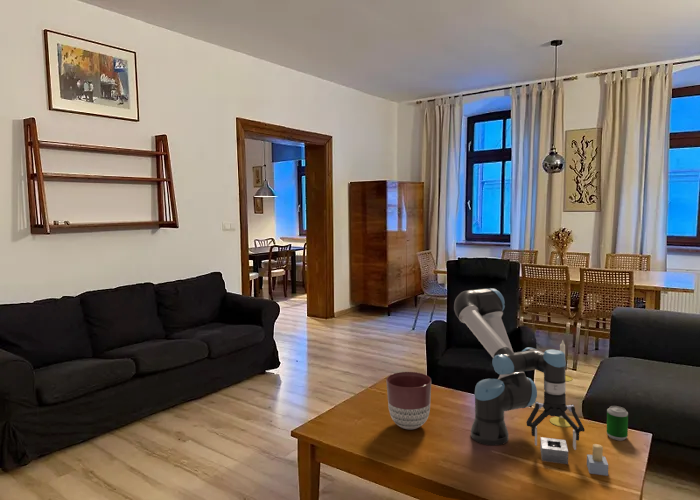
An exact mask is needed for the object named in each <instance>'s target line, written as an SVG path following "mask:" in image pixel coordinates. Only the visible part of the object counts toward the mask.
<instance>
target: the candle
mask: <svg viewBox="0 0 700 500" xmlns="http://www.w3.org/2000/svg"><path fill="white" fill-rule="evenodd" d="M559 351H562V352H563V353H564V354H565V355H566V344H565V342H564V339H562V341H561V343H560V344H559ZM573 380H574V378H573V377H572V376H570V375H568V374H565V383H567V382H572V381H573ZM549 422H550V424H551V425H554V426H557V427H559V426H560V428H572V427H571V425H570V424H569V423H568V422H567V421H566V420H565V419H564V418H563V417H562V416H560V417H557V416H551V418H549Z"/></svg>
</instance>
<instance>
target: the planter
mask: <svg viewBox="0 0 700 500" xmlns="http://www.w3.org/2000/svg"><path fill="white" fill-rule="evenodd" d="M385 382H386V390H387V392H386V393H387V402H388V403H387V405H388V406H387V407H388V411H389V415H390V417H391V419H392V421H393V422H394V423H395V425H397V427H400V428H401V429H405V430H416V429H418V428H421V427H422V426H423V425H424V424H426V422H427V420H428V418H429V415H430V410H431V401H432V400H431V399H432V394H431V393H432V378H431V377H430V376H429V375H426V374H424V373H420V372H415V371H400V372H396V373H392V374H389V375H388V376H387V377H386V381H385Z"/></svg>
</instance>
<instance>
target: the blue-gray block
mask: <svg viewBox="0 0 700 500" xmlns="http://www.w3.org/2000/svg"><path fill="white" fill-rule="evenodd" d="M603 447H604V446H603V445H601V444H597V443H594V444H592V454H590V453H589V454H586V467H587V470H588V473H589V474H592V475H599V476H607V477H608V476H609V463H608V460H607V458H606V456H604V455H603V454H604V453H603V452H604V449H603Z"/></svg>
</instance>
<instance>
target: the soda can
mask: <svg viewBox="0 0 700 500" xmlns="http://www.w3.org/2000/svg"><path fill="white" fill-rule="evenodd" d="M628 430H629V412H628V411H627V410H626V409H625V408H624V407H621V406H617V405H611V406H609V408H607V409H606V435H608V437H609V438H610V439H612V440H615V441H625V440H626V439H627V438H628V435H629V434H628Z"/></svg>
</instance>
